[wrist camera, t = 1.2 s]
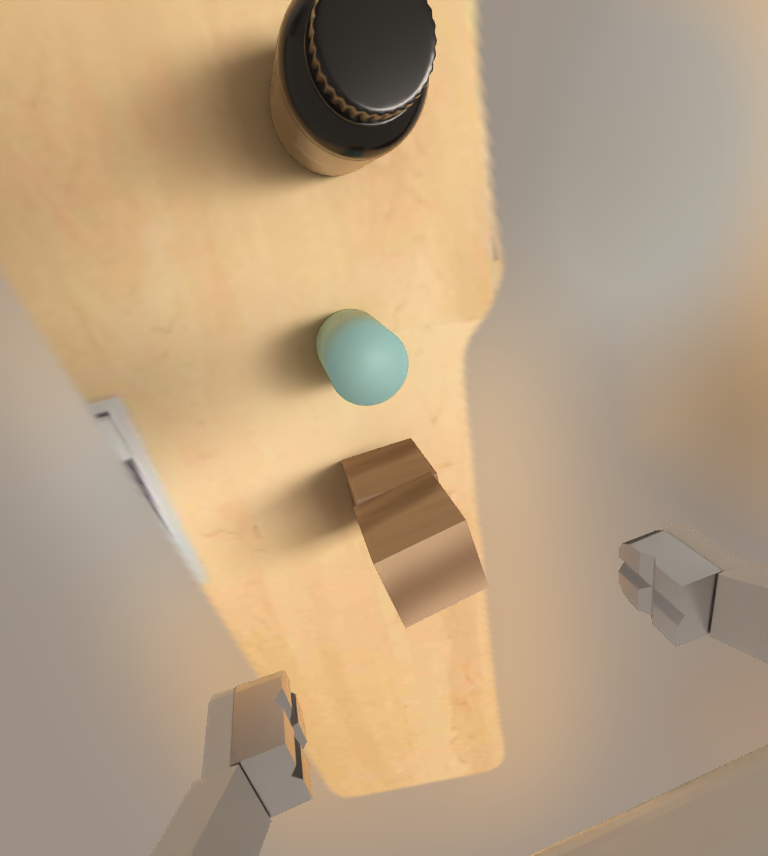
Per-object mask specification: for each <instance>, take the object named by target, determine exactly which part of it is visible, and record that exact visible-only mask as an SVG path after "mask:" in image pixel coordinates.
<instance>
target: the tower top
mask: <svg viewBox="0 0 768 856" xmlns="http://www.w3.org/2000/svg"><path fill="white" fill-rule="evenodd" d="M353 510H354V512H355V515H356V518H357V521H358V523H359V526H360V529H361V532H362V534H363V537H364V540H365V543H366V545H367V548H368V551H369V554H370V556H371V559H372V562H373V565H374V567H375V569H376V571H377V573H378V575H379V577H380V578H381V580H382V582H383V584H384V586H385V588H386V590H387V592H388V594H389V596H390V598H391V600H392V602H393V604H394V606H395V608H396V610H397V612H398V614H399V616H400V618H401V620H402V622H403V624H404V626H405V628H407V627H409V626H411V625H413V624H415V623H417V622H419V621H421V620H423V619H425V618H427V617H429V616H431V615H433V614H435V613H437V612H439V611H441V610H443V609H445V608H447V607H449V606H451V605H453V604H455V603H457V602H459V601H461V600H463V599H465V598H467V597H469V596H471V595H473V594H475V593H477V592H479V591H481V590H483V589H485V588H487V587H489V586H488V583H487V580H486V577H485V574H484V571H483V569H482V566H481V563H480V560H479V557H478V554H477V551H476V548H475V545H474V542H473V539H472V536H471V533H470V531H469V528H468V525H467V522H466V519H465V518H464V517H463V515H462V514H461V513H460V511H459V510H458V508H457V507H456V506H455V504H454V503H453V501H452V500H451V499H450V497H449V496H448V495H447V493H446V492H445V490H444V489H443V488H442V486H441V485H440V484H439V482H438V481H437V479H436V478H435V477H434V475H433V474H432V473H431V471H430V472H427V473H425V474H423V475H421V476H419V477H417V478H415V479H412V480H410V481H408V482H406V483H404V484H402V485H400V486H397V487H395V488H393V489H391V490H389V491H387V492H385V493H383V494H380V495H378V496H376V497H374V498H372V499H370V500H368V501H365V502H363V503H361V504H359V505H357V506H355V507H353Z"/></svg>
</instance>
